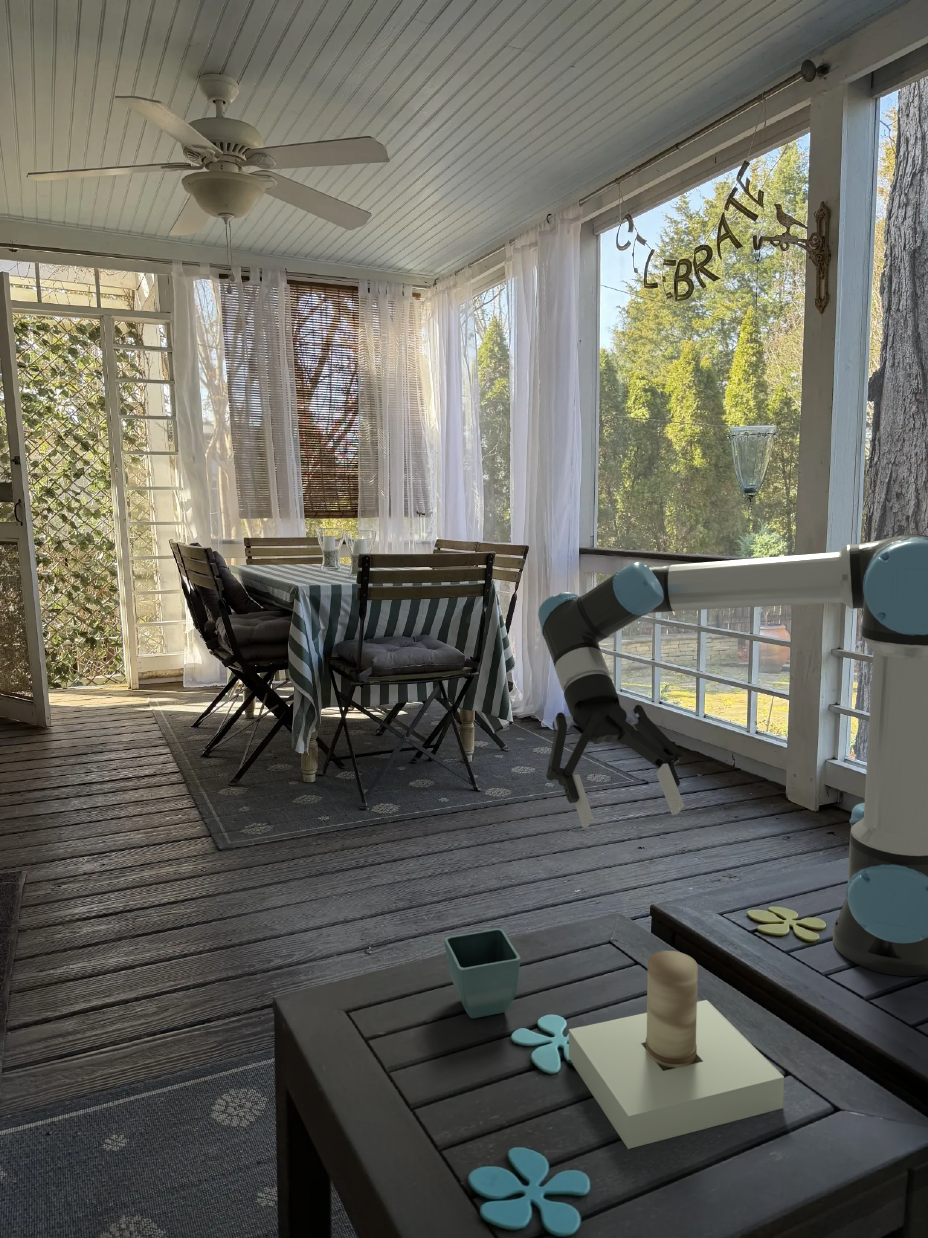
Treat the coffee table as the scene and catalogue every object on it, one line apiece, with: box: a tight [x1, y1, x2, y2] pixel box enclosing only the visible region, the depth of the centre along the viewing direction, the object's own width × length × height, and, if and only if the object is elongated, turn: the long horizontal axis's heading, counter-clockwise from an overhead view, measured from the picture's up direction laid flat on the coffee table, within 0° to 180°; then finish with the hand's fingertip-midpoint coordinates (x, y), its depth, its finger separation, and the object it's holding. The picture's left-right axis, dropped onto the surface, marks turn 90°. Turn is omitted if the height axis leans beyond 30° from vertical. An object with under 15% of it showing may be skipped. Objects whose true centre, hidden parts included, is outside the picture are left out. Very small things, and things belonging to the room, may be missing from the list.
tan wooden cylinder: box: [646, 950, 699, 1071], centre depth 103 cm, size 6×6×15 cm
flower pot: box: [444, 928, 521, 1019], centre depth 120 cm, size 9×9×9 cm
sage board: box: [568, 999, 785, 1150], centre depth 104 cm, size 20×16×4 cm
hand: (634, 817), depth 116 cm, fingers open, 13 cm apart
